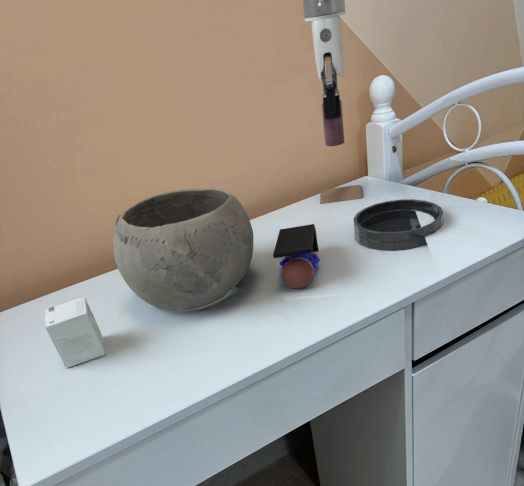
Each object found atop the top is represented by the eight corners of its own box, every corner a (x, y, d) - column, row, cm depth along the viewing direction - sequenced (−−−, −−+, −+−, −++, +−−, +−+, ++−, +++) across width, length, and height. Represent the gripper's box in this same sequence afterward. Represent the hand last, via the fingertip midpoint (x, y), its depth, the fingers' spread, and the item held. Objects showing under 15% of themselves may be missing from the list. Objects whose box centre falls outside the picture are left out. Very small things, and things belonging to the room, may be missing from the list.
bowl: (288, 284, 81) (273, 194, 72) (160, 342, 73) (127, 249, 65) (224, 247, 98) (206, 171, 90) (116, 290, 91) (85, 212, 82)
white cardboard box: (106, 355, 73) (87, 313, 69) (65, 369, 72) (43, 327, 68) (102, 336, 78) (85, 295, 74) (64, 349, 77) (44, 308, 73)
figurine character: (285, 263, 91) (278, 295, 78) (278, 222, 87) (270, 249, 74) (321, 258, 90) (320, 291, 77) (316, 217, 86) (314, 243, 73)
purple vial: (344, 139, 105) (340, 82, 99) (344, 144, 102) (340, 85, 96) (325, 142, 106) (320, 85, 100) (325, 147, 103) (319, 89, 97)
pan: (434, 212, 94) (435, 194, 92) (449, 246, 82) (450, 226, 80) (353, 222, 97) (352, 205, 95) (356, 257, 85) (355, 238, 83)
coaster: (360, 186, 113) (360, 184, 113) (362, 200, 106) (361, 198, 106) (321, 191, 115) (320, 189, 115) (320, 205, 108) (319, 203, 107)
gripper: (345, 6, 83) (352, 122, 94) (344, 2, 96) (350, 104, 107) (301, 14, 85) (313, 128, 95) (305, 10, 98) (315, 110, 108)
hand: (332, 114), depth 101 cm, fingers closed on purple vial, 4 cm apart
